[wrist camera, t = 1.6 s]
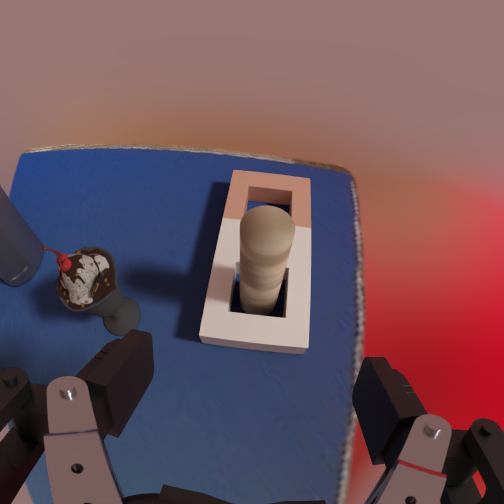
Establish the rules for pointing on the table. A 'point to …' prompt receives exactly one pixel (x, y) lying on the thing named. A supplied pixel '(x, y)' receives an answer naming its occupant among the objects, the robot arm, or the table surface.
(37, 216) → the table surface
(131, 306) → the sundae
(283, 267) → the peg
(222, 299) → the dock board
